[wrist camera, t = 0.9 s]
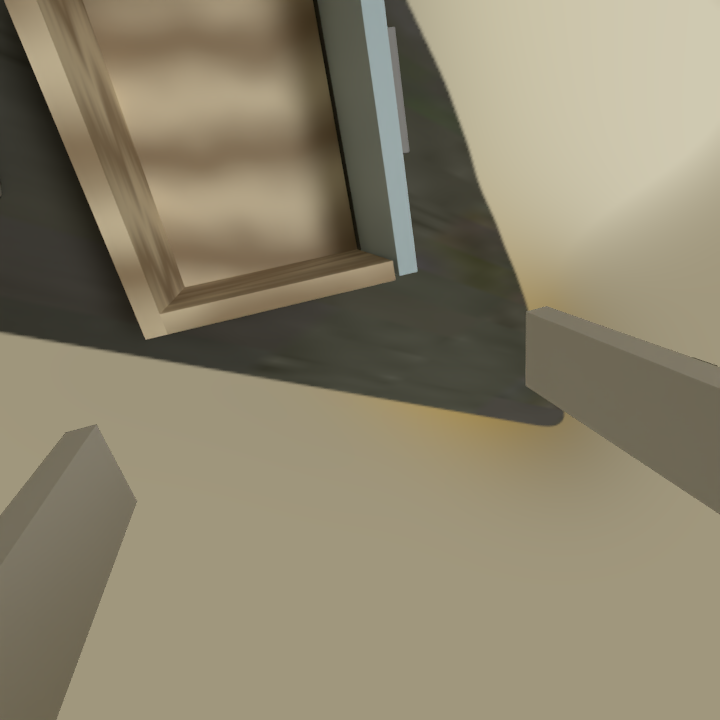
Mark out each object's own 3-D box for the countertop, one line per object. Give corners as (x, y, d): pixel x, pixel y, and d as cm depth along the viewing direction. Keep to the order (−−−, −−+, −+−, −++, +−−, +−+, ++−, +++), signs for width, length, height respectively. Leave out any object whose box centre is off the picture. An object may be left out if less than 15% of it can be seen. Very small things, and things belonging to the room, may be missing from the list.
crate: (64, -10, 24) (-65, -164, 14) (300, -32, 27) (328, -177, 17) (178, 300, 32) (145, 339, 22) (354, 261, 35) (395, 280, 25)
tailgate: (309, -46, 25) (336, -171, 17) (339, -49, 26) (380, -172, 17) (362, 260, 33) (399, 275, 25) (385, 255, 33) (429, 268, 25)
